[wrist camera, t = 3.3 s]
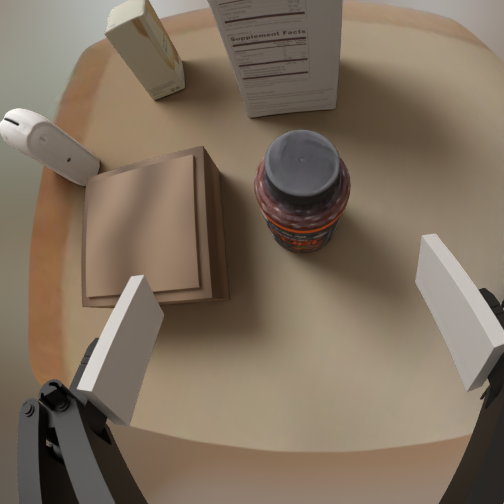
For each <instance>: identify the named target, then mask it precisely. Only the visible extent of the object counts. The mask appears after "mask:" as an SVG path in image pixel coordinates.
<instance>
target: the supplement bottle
mask: <svg viewBox="0 0 504 504" xmlns="http://www.w3.org/2000/svg"><path fill="white" fill-rule="evenodd" d="M350 187H351V185H350V177H349V173H348V170H347V168H346V166H345V164H344V162H343V161H342V159H341V158H340V156H339V154H338V151H337V150H336V148H335V146H334V145H333V144H332V143H331V142H330V141H329V140H328V139H327V138H326V137H324V136H323V135H321V134H319V133H317V132H314V131H310V130H293V131H289V132H286V133H285V134H282V135H281V136H279V137H277V138H276V139H275V140H274V141H273V142H272V143H271V145H270V146H269V148H268V149H267V152H266V155H265V157H264V158H263V159H262V161H261V162H260V164H259V166H258V168H257V171H256V174H255V182H254V188H255V194H256V198H257V201H258V203H259V206H260V208H261V211H262V213H263V216H264V218H265V221H266V223H267V225H268V228H269V230H270V232H271V234H272V236H273V237H274V239H275V240H276V241H277V242H278V243H279V244H280V245H281V246H283V247H284V248H286V249H288V250H291V251H294V252H299V253H306V252H312V251H315V250H317V249H319V248H321V247H323V246H324V245H325V244H327V242H328V241H329V240H330V239H331V237H332V236H333V234H334V232H335V230H336V228H337V226H338V223H339V221H340V219H341V217H342V214H343V212H344V210H345V207H346V205H347V202H348V199H349V195H350Z"/></svg>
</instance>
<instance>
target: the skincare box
mask: <svg viewBox="0 0 504 504" xmlns="http://www.w3.org/2000/svg"><path fill="white" fill-rule="evenodd" d="M104 34H105V36H106V37H107V38H108V40H109V41H110V42H111V44H112V45H113V46H114V48H115V49H116V50H117V52H118V53H119V54H120V56H121V57H122V58H123V60H124V61H125V62H126V64H127V65H128V66H129V68H130V69H131V70H132V72H133V73H134V74H135V76H136V77H137V78H138V80H139V81H140V82H141V84H142V85H143V87H144V88H145V89H146V91H147V92H148V93H149V95H150V96H151V97H152V99H153V100H156V99H159V98H161V97H164V96H166V95H169V94H172V93H174V92H176V91H179V90H182V89H184V88H185V79H184V71H183V65H182V60H181V58H180V56H179V55H178V53H177V51H176V49H175V47H174V45H173V44H172V42H171V40H170V38H169V36H168V34H167V33H166V31H165V29H164V27H163V25H162V23H161V22H160V20H159V18H158V16H157V14H156V13H155V11H154V9H153V7H152V6H151V4H150V2H149V0H129V1H127V2H125V3H123V4H121V5H119V6H117V7H115V8H113V9H112V10H111V11H110V15H109V18H108V20H107V25H106V29H105V33H104Z"/></svg>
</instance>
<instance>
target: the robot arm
mask: <svg viewBox="0 0 504 504" xmlns="http://www.w3.org/2000/svg"><path fill="white" fill-rule="evenodd" d="M415 283H416V285H417V287H418V289H419V290H420V292H421V294H422V296H423V298H424V300H425V302H426V304H427V306H428V308H429V309H430V311H431V313H432V315H433V317H434V319H435V321H436V324H437V326H438V328H439V330H440V332H441V334H442V336H443V338H444V340H445V343H446V345H447V347H448V349H449V351H450V354H451V356H452V358H453V361H454V363H455V365H456V368H457V370H458V372H459V375H460V377H461V380H462V382H463V385H464V388H465V390H466V392H468V391H471V390H474V389H476V388H479V387H481V386H482V385H483V383H484V382H485V381H486V379H487V378H488V380H489V383H490V385H489V386H488V388H487V389H486V390H485V392H484V393H483V394H482V396H481V398H480V399H481V400H482V399H483V398H484V397H485V399H484V402H483V405H482V408H481V411H480V414H479V417H478V420H477V423H476V426H475V428H474V431H473V434H472V436H471V439H470V441H469V444H468V446H467V448H466V451H465V453H464V456H463V458H462V460H461V462H460V464H459V466H458V468H457V470H456V473H455V474H454V476H453V478H452V481H451V482H450V485H449V486H448V488H447V490H446V492H445V494H444V495H443V497H442V499H441V501H440V502H439V504H503V503H504V309H503V308H502V306H500V303H499V302H498V300H497V299H496V297H495V296H494V295H493V294H492V293H491V292H489V291H488V290H487V289H486V288H482V289H479V290H478V289H477V288H476V286H475V285H474V283H473V282H472V280H471V279H470V278H469V276H468V275H467V273H466V272H465V271H464V269H463V268H462V267H461V265H460V264H459V263H458V261H457V260H456V259H455V257H454V256H453V255H452V253H451V252H450V251H449V250H448V248H447V247H446V246H445V245H444V243H443V242H442V241H441V240H440V238H439V237H438V236H437V235H436V234H428V235H422V238H421V246H420V253H419V261H418V267H417V273H416V279H415ZM163 318H164V313H163V311H162V309H161V308H160V306H159V304H158V302H157V300H156V298H155V296H154V294H153V292H152V290H151V288H150V286H149V284H148V282H147V280H146V277H145V275H138V276H131V278H130V280H129V281H128V283H127V285H126V287H125V289H124V291H123V293H122V294H121V296H120V298H119V300H118V302H117V304H116V306H115V308H114V310H113V312H112V314H111V316H110V318H109V320H108V322H107V324H106V326H105V328H104V330H103V332H102V334H101V336H100V338H95V339H94V341H93V342H92V343H91V344H90V345H89V346H88V348H87V350H86V353H85V355H84V357H83V359H82V361H81V365H79V368H78V370H77V372H76V374H75V376H74V379H73V381H72V383H71V385H70V388H69V390H68V389H67V388H66V387H65V386H64V385H63V384H62V383H61V382H60V381H59V380H56V379H52V380H50V381H48V382H47V383H45V384H44V385H43V387H42V388H41V390H40V393H39V400H40V401H41V402H42V403H43V404H41V403H40V402H39V401H38V400H36V399H34V398H30V399H28V400H26V401H25V402H24V403H23V405H22V406H21V409H20V413H19V426H18V448H17V449H18V451H17V454H18V455H17V465H18V466H17V469H18V470H17V471H18V491H19V504H148V503H147V501H146V500H145V498H144V496H143V495H142V493H141V491H140V489H139V488H138V486H137V484H136V482H135V480H134V479H133V477H132V475H131V473H130V471H129V469H128V467H127V465H126V463H125V461H124V459H123V457H122V455H121V453H120V451H119V448H118V447H117V444H116V443H115V440H114V438H113V435H112V433H111V431H110V428H109V427H108V425H107V424H106V420H107V418H108V419H109V420H111V421H112V422H113V423H114V424H118V425H124V426H130V423H131V419H132V416H133V412H134V409H135V405H136V402H137V398H138V395H139V392H140V388H141V385H142V382H143V379H144V375H145V372H146V369H147V366H148V363H149V360H150V357H151V354H152V350H153V347H154V344H155V341H156V338H157V335H158V333H159V330H160V327H161V324H162V321H163ZM485 395H486V396H485ZM46 440H48V441H49V442H50V444H49V447H48V446H46Z"/></svg>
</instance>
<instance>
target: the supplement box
mask: <svg viewBox="0 0 504 504" xmlns="http://www.w3.org/2000/svg"><path fill="white" fill-rule="evenodd" d="M207 1H208V3H209V6H210V9H211V11H212V14H213V17H214V19H215V22H216V25H217V27H218V30H219V33H220V35H221V38H222V41H223V43H224V46H225V48H226V51H227V54H228V57H229V60H230V63H231V66H232V69H233V72H234V75H235V78H236V81H237V84H238V87H239V90H240V93H241V96H242V99H243V102H244V105H245V108H246V111H247V114H248V117H249V118H252V117H259V116H266V115H274V114H282V113H291V112H301V111H313V110H327V109H335V108H336V101H337V90H338V77H339V63H340V48H341V28H342V0H207Z"/></svg>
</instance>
